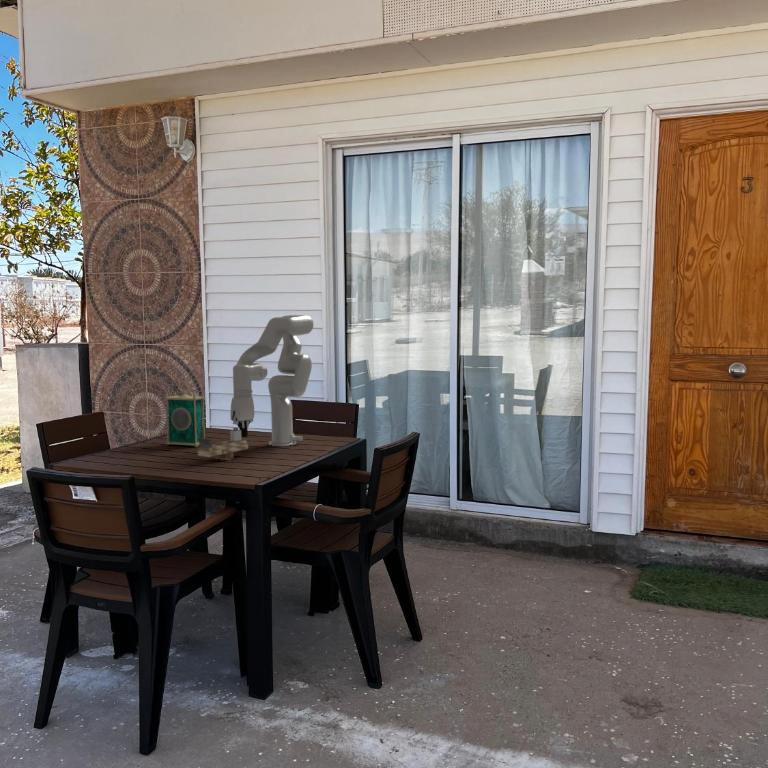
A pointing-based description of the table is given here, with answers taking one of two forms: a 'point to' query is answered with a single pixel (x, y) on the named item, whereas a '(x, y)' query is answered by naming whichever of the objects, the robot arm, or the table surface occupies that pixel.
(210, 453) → the beam
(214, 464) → the table surface
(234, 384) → the robot arm
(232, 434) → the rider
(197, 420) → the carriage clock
